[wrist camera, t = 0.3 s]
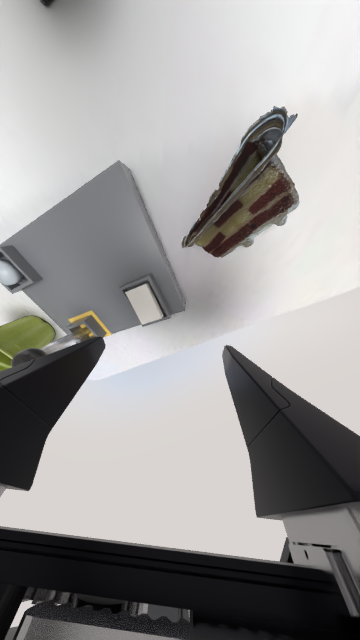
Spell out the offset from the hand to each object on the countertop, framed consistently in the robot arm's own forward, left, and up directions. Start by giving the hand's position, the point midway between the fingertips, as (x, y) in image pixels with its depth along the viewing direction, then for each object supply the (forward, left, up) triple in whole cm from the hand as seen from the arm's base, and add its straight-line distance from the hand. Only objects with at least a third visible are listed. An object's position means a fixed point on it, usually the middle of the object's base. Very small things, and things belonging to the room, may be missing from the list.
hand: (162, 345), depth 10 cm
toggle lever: (+1, -17, -10) cm, 19 cm away
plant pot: (-2, -30, -14) cm, 33 cm away
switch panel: (-5, -11, -14) cm, 18 cm away
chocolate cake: (-5, +9, -14) cm, 18 cm away
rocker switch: (0, -5, -10) cm, 11 cm away
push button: (-11, -20, -10) cm, 24 cm away
